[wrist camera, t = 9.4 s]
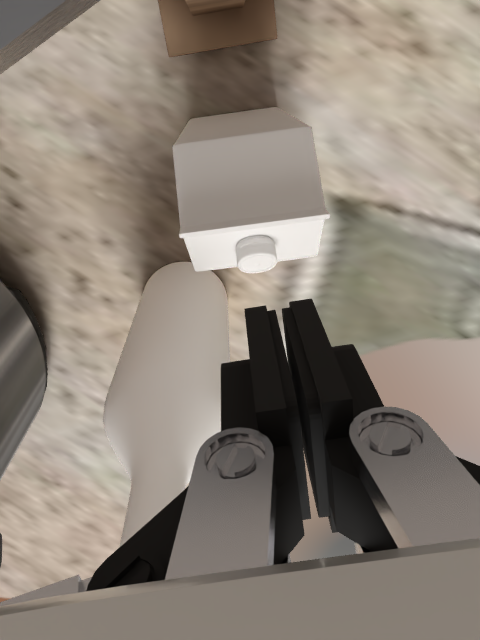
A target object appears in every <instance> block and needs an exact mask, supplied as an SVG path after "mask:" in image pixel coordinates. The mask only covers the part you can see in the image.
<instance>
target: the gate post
mask: <svg viewBox="0 0 480 640" xmlns="http://www.w3.org/2000/svg"><path fill="white" fill-rule="evenodd" d="M158 3H159V8H160V14H161V19H162V24H163V29H164V34H165V39H166V44H167V49H168V55H169V57H175V56H181V55H187V54H192V53H198V52H204V51H210V50H215V49H221V48H227V47H233V46H238V45H244V44H250V43H256V42H261V41H267V40H273V39H277V29H276V18H275V8H274V0H158Z"/></svg>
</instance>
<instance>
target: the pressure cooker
mask: <svg viewBox="0 0 480 640" xmlns="http://www.w3.org/2000/svg"><path fill="white" fill-rule="evenodd" d="M47 369H48V368H47V363H46V346H45V343H44V339H43V335H42V332H41V329H40V327H39V324H38V321H37V319H36V317H35V315H34V313H33V311H32V309H31V308H30V306H29V303H28V302H27V300H26V299H25V298H24V296H23V295H22V293H21V291H19V290H17V289H13V288H10V287H8V286H5V285H4V284H3V282H2V279H1V278H0V480H1V478H2V476H3V475H4V473H5V471H6V469H7V467H8V466H9V464H10V462H11V460H12V458H13V457H14V455H15V453H16V451H17V449H18V448H19V446H20V444H21V442H22V440H23V439H24V437H25V435H26V433H27V431H28V430H29V428H30V426H31V424H32V422H33V421H34V419H35V417H36V416H37V414H38V412H39V409H40V407H41V404H42V401H43V397H44V393H45V390H46V387H47V375H48V374H47ZM1 562H2V535H1V533H0V567H1Z"/></svg>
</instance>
